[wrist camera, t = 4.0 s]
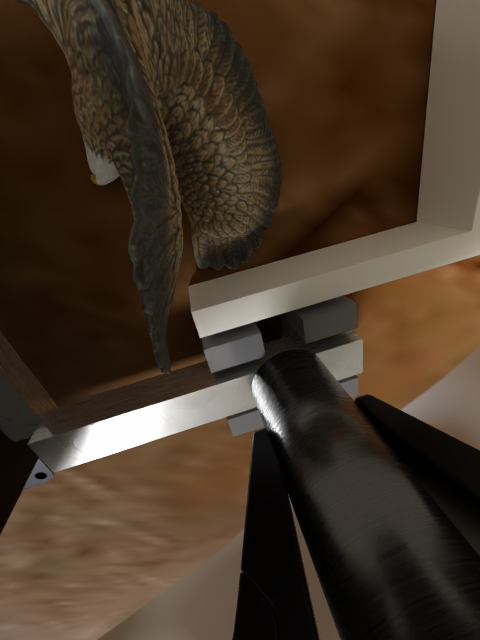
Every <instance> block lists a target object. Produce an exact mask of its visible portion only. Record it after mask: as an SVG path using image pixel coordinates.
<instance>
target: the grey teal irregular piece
mask: <svg viewBox="0 0 480 640" xmlns="http://www.w3.org/2000/svg"><path fill="white" fill-rule="evenodd" d="M263 345H264V349H265V354H266V356H265V357H262V358H259V359H256V360H252V361H249V362H246V363H243V364H239V365H236V366H233V367H230V368H226V369H223V370H220V371H217V372H214V373H211V371H210V368H209V365H208V362H207V361H203V362H200V363H197V364H194V365H190V366H187V367H184V368H181V369H177V370H174V371H171V372H170V374H166V373H164V374H161V375H158V376H154V377H151V378H148V379H145V380H141V381H138V382H135V383H132V384H128V385H125V386H122V387H118V388H115V389H112V390H109V391H105V392H102V393H99V394H96V395H92V396H89V397H86V398H82V399H79V400H76V401H73V402H69V403H66V404H63V405H60V406H57V405H56V404H55V402H54V401H53V400H52V398H51V397H50V396H49V394H48V393H47V392H46V390H45V389H44V388H43V386H42V385H41V384H40V382H39V381H38V380H37V378H36V377H35V376H34V374H33V373H32V372H31V370H30V369H29V368H28V366H27V365H26V364H25V362H24V361H23V360H22V359H21V357H20V356H19V355H18V353H17V352H16V351H15V349H14V348H13V347H12V345H11V344H10V343H9V341H8V340H7V339H6V337H5V336H4V335H3V333H2V332H1V331H0V429H1V430H2V431H3V432H4V433H5V434H6V435H7V436H8V437H9V438H10V439H11V440H12V441H13V442H17V441H20V440H23V439H27V438H30V437H31V439H30V441H29V442H28V445H29V447H30V448H31V449H32V450H33V451H34V452H35V453H36V454H37V455H38V456H39V458H40V459H41V460H42V461H43V462H44V463H45V464H46V465H47V466H48V467H49V468H50V470H51V471H52V472H53V473H55V472H58V471H61V470H64V469H67V468H70V467H73V466H76V465H79V464H82V463H85V462H88V461H92V460H95V459H98V458H101V457H104V456H107V455H110V454H113V453H116V452H119V451H122V450H126V449H129V448H132V447H135V446H138V445H141V444H144V443H147V442H150V441H153V440H156V439H159V438H163V437H166V436H169V435H172V434H175V433H178V432H181V431H184V430H187V429H190V428H193V427H196V426H200V425H203V424H206V423H209V422H212V421H215V420H218V419H221V418H224V417H227V416H230V415H233V414H237V413H240V412H243V411H246V410H249V409H252V408H255V407H257V408H258V411H259V413H260V416H261V419H262V422H263V425H264V427H265V428H266V429H267V430H268V433H269V435H270V438H271V440H272V443H273V446H274V448H275V451H276V453H277V456H278V458H279V461H280V464H281V467H282V471H283V475H284V479H285V483H286V487H287V492H288V494H289V497H290V500H291V503H292V505H293V508H294V511H295V514H296V516H297V520H298V522H299V525H300V528H301V531H302V533H303V536H304V539H305V542H306V545H307V547H308V550H309V553H310V556H311V558H312V561H313V564H314V567H315V570H316V572H317V575H318V578H319V581H320V584H321V587H322V589H323V592H324V595H325V598H326V600H327V603H328V606H329V609H330V612H331V614H332V617H333V620H334V623H335V625H336V628H337V631H338V634H339V637H340V640H480V556H479V555H478V553H477V552H476V551H475V550H474V548H473V547H472V546H471V545H470V544H469V542H468V541H467V540H466V539H465V537H464V536H463V535H462V534H461V532H460V531H459V530H458V529H457V528H456V526H455V525H454V524H453V523H452V521H451V520H450V519H449V518H448V516H447V515H446V514H445V513H444V511H443V510H442V509H441V508H440V507H439V505H438V504H437V503H436V502H435V500H434V499H433V498H432V497H431V495H430V494H429V493H428V492H427V491H426V489H425V488H424V487H423V486H422V484H421V483H420V482H419V481H418V479H417V478H416V477H415V476H414V475H413V473H412V472H411V471H410V470H409V468H408V467H407V466H406V465H405V463H404V462H403V461H402V460H401V458H400V457H399V456H398V455H397V454H396V452H395V451H394V450H393V449H392V447H391V446H390V445H389V444H388V442H387V441H386V440H385V439H384V438H383V436H382V435H381V434H380V433H379V431H378V430H377V429H376V428H375V426H374V425H373V424H372V423H371V421H370V420H369V419H368V418H367V417H366V415H365V414H364V413H363V412H362V410H361V409H360V408H359V407H358V405H357V404H356V403H355V402H354V401H353V399H352V398H351V397H350V396H349V394H348V393H347V392H346V391H345V389H344V388H343V387H342V386H341V384H340V383H339V382H338V380H341V379H344V378H348V377H351V376H354V375H357V374H360V373H363V339H362V338H361V337H360V336H358V335H357V334H356V333H355V332H354V331H353V330H349V331H346V332H343V333H339V334H336V335H333V336H330V337H327V338H323V339H320V340H317V341H314V342H310V343H307V344H305V342H304V341H303V340H302V339H301V337H300V336H299V335H298V334H297V333H295V334H292V335H289V336H285V337H282V338H279V339H275V340H272V341H269V342H266V343H263Z"/></svg>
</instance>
